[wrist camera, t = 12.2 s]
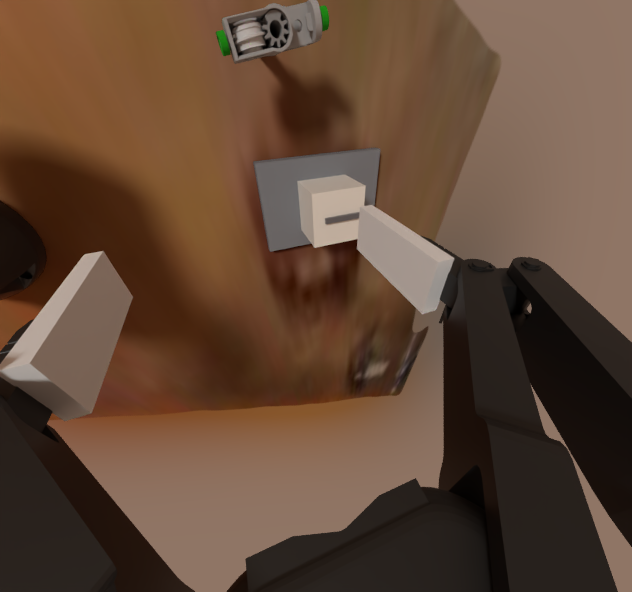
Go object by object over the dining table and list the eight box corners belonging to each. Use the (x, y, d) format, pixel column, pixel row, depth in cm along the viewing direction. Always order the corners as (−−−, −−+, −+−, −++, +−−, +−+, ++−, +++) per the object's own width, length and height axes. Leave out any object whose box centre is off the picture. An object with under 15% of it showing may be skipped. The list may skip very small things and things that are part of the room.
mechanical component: (301, 52, 31) (332, 38, 24) (222, 73, 30) (227, 65, 23) (295, 17, 29) (326, -10, 22) (210, 38, 28) (212, 17, 21)
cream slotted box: (301, 230, 44) (315, 249, 38) (297, 181, 39) (312, 195, 33) (343, 222, 46) (362, 239, 40) (345, 174, 41) (367, 186, 35)
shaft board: (268, 247, 45) (275, 264, 41) (253, 161, 37) (259, 170, 32) (368, 228, 50) (384, 241, 46) (375, 147, 41) (396, 153, 37)
